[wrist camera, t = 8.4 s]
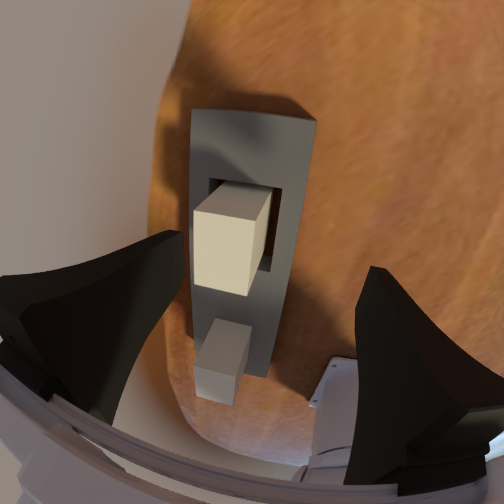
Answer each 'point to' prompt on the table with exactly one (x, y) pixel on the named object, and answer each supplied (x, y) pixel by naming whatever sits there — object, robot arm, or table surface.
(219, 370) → the slotted gray plate
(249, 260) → the plug
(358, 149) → the table surface
